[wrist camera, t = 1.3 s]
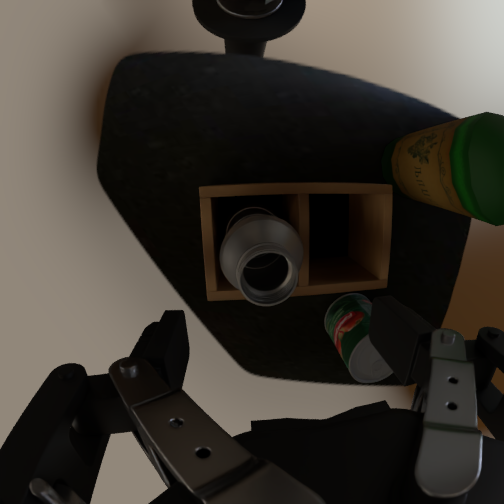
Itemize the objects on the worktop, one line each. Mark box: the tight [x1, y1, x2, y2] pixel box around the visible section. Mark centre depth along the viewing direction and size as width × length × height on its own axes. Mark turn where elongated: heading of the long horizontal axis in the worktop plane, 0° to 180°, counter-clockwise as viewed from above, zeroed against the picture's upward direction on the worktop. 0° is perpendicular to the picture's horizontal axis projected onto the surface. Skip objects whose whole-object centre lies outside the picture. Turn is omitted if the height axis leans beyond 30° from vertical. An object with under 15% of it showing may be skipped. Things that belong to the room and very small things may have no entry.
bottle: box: [381, 112, 504, 226], centre depth 22 cm, size 11×11×28 cm
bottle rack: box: [199, 182, 392, 301], centre depth 32 cm, size 11×19×10 cm, turn 92°
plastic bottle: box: [220, 203, 303, 306], centre depth 27 cm, size 6×7×20 cm
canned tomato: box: [325, 293, 393, 383], centre depth 35 cm, size 8×8×11 cm
